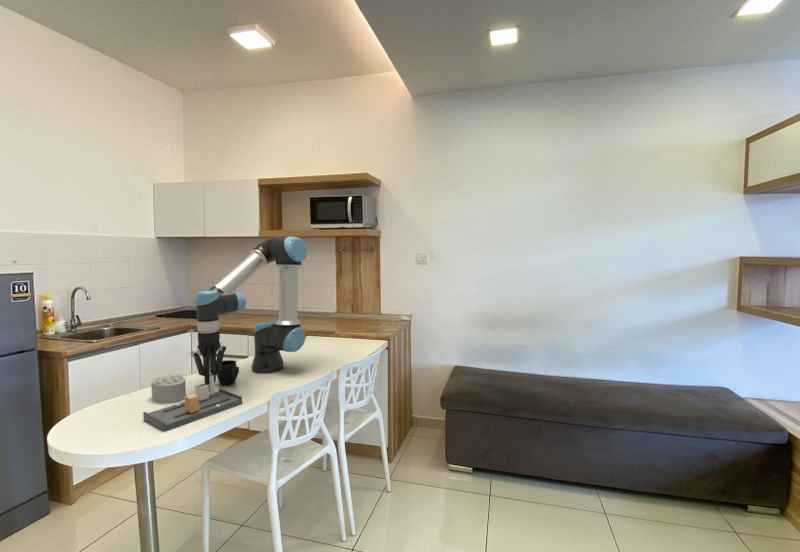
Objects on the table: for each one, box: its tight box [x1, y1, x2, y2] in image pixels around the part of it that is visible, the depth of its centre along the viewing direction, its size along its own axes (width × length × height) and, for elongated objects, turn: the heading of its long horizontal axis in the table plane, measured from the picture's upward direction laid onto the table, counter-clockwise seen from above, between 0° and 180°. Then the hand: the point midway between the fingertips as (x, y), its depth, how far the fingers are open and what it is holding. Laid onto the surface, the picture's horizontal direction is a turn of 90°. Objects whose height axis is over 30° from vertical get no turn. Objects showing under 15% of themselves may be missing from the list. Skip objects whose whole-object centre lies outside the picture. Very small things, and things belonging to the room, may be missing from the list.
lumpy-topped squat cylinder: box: [150, 373, 187, 405], centre depth 156 cm, size 10×13×9 cm
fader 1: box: [184, 393, 199, 413], centre depth 138 cm, size 3×4×5 cm
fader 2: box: [194, 382, 210, 401], centre depth 149 cm, size 3×4×5 cm
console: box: [142, 388, 243, 433], centre depth 143 cm, size 28×15×3 cm, turn 145°
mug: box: [216, 359, 240, 387], centre depth 171 cm, size 8×12×10 cm
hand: (210, 391), depth 152 cm, fingers closed
